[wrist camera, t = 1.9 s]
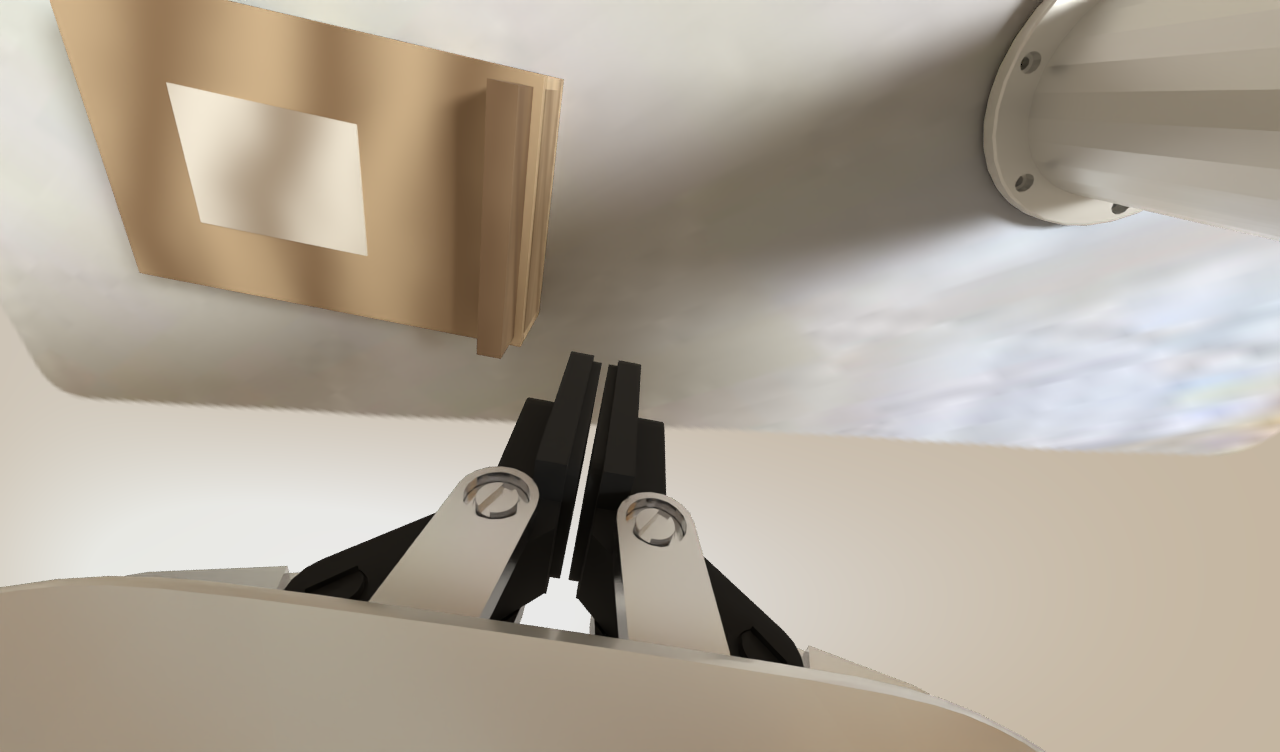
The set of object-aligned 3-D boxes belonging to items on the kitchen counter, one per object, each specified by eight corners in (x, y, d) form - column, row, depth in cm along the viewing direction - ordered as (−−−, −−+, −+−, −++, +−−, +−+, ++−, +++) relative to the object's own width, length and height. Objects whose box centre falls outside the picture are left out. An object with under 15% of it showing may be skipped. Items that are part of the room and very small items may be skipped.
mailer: (563, 79, 24) (547, 76, 21) (538, 313, 31) (523, 340, 27) (147, -19, 23) (57, -40, 19) (213, 248, 29) (153, 268, 26)
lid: (546, 75, 21) (530, 72, 18) (522, 342, 27) (507, 368, 24) (49, -41, 19) (-47, -64, 17) (148, 269, 26) (90, 289, 23)
